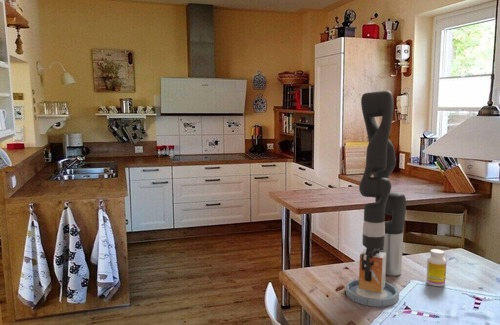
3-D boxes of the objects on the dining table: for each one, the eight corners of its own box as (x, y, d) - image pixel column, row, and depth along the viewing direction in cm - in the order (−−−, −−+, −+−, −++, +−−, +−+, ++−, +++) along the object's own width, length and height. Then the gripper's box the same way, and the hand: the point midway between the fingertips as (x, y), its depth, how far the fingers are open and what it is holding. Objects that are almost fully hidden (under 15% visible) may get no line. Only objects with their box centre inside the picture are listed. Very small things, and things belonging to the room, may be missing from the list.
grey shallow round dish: (359, 280, 160) (359, 274, 159) (405, 293, 148) (405, 286, 148) (337, 296, 146) (337, 290, 146) (386, 312, 135) (386, 305, 134)
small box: (358, 288, 146) (359, 253, 145) (362, 282, 152) (363, 248, 150) (381, 293, 142) (382, 257, 141) (385, 286, 148) (386, 252, 146)
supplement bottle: (447, 287, 153) (449, 254, 151) (428, 286, 154) (430, 253, 153) (442, 280, 159) (444, 248, 158) (424, 279, 161) (426, 247, 159)
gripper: (371, 226, 152) (370, 269, 154) (354, 235, 141) (353, 281, 143) (391, 230, 147) (390, 274, 150) (375, 240, 136) (374, 287, 139)
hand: (372, 277), depth 146 cm, fingers closed on small box, 6 cm apart
